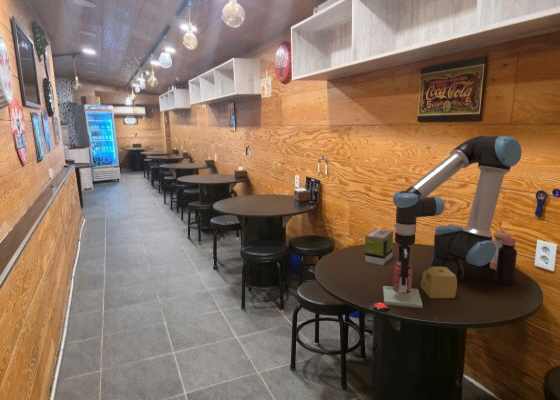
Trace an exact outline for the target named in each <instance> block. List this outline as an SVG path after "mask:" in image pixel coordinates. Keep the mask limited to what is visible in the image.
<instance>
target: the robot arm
mask: <svg viewBox="0 0 560 400" xmlns="http://www.w3.org/2000/svg"><path fill="white" fill-rule="evenodd" d="M521 158H522V147H521V144H520V142H519V140H518V139H517V138H515V137H513V136H508V135H507V136H506V135H478V136H474V137H471V138H470V139H467V140H465V141H463V142H462V143H460V144H459V145H457V146H456V147H455V148H453V149H452V150H451V151H450V152H449V155H448V156H447V157H446V158H445V159H443V160H442V161H441V162H439V163H438V164H436V166H435V167H433V168H432V169H431V170H430V171H428V172H427V173H425V175H423V176H422V177H421V178H419V179H418V180H417V181H416V182H415V183H413V184H412V185H411V186H410V187H408V188H407V189H406V190H397V191H396V192H395V193H394V195H393V197H392V202H393V204H394V206H395V207H396V210H395V211H396V212H395V224H393V227H394V228H395V230H394V231H395V233H394V242H395V244H398V261H401V275H399V277H400V283H399V292H404V293H406V292H407V278H408V267H409V263H410V262H409V261H410V253H411V248H410V246H412V245H415V243H416V231H417V220H418V219H417V218H424V217H425V218H426V217H436V216H439V215H441V214H442V213H444V211H445V202H444V200H443V199H442V198H441V197H439V196H433V195H432V196H429V195H431V194H432V193H433V192H434V191H436V190H437V189H438V188H439V187H440V186H441V185H443V184H444V183H446V181H448V180H450V178H452V177H453V176H455V175H456V173H458V172H459V171H460V170H462V169H466V168H468V167H469V166H470V165H472V164H477V168H478V170H479V171H480V173H479V176H478V179H477V180H478V181H477V183H476V184H477V185H476V189H475V192H474V197H473V201H472V204H471V208H470V213H469V217H468V220H467V224H466V226H464V227H463V226H460V225H450V224H449V225H440V226H437V227H436V228H435V229H434V230H435V231H434V236H433V237H434V239H433V254H432V255H433V256H432V258H431V261H430V263H429V265H428V266H427V267H428V268H427V270H429V268H430V267H447V268H448V269H449V270H450V271H451V272H452V273H453V274H455V275H456V278H457V281H458V280H462V279H463V278H464V276H465V275H464V274H465V271H464V268H463V264H462V261H463V262H466V263H467V264H469V265H473V266H477V267H483V266H486V265H487V264H488V263H490V261H491V260H492V259H493V257H494V256H495V253H496V247H495V242H493V238H494V235H493V234H492V233H491V227H492V224H493V219H494V215H495V212H496V208H497V204H498V199H499V196H500V192H501V188H502V186H503V185H502V184H503V182H504V178H505V175H507V174H508V173H509V172H511V171H510V170H511V167H514V166H516V165H517V164H518V163H519V162H520V160H521ZM461 278H462V279H461Z"/></svg>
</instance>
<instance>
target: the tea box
mask: <svg viewBox="0 0 560 400" xmlns="http://www.w3.org/2000/svg"><path fill="white" fill-rule="evenodd" d="M364 249H365V250H364V262H365V263H370V264H372V265H373V264H375V265H379V266H384V265H385V264H386V263H387V262H388V261H389V260H390V259H392V258H393V257H394V256H393V255H394V254H393V253H394V231H393V230H389V229H381V228H374V229H373V230H372V231H370V232H369V233H367V234H366V235H365V242H364Z"/></svg>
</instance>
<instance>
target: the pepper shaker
mask: <svg viewBox="0 0 560 400" xmlns="http://www.w3.org/2000/svg"><path fill="white" fill-rule="evenodd" d="M493 238H494V244H495V247H496V253H495V256H494V257H493V259H492V260H491V261H490V262H489V263H490V264H489V268H490V269H491V268H492V270H493V269H495V270H494V271H496V269H497V260H498V251H499V248H500V247H502V238H512V236H511V234H510V233H509V232H506V231H505V230H499V231H496V232H494V233H493Z"/></svg>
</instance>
